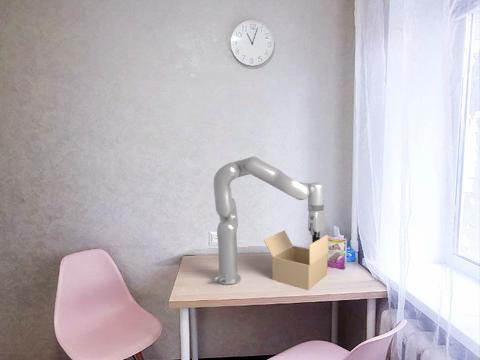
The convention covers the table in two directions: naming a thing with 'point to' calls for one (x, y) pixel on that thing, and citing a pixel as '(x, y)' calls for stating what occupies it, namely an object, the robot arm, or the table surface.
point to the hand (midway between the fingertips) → (316, 244)
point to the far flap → (278, 243)
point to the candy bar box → (337, 252)
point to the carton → (298, 268)
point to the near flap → (318, 249)
